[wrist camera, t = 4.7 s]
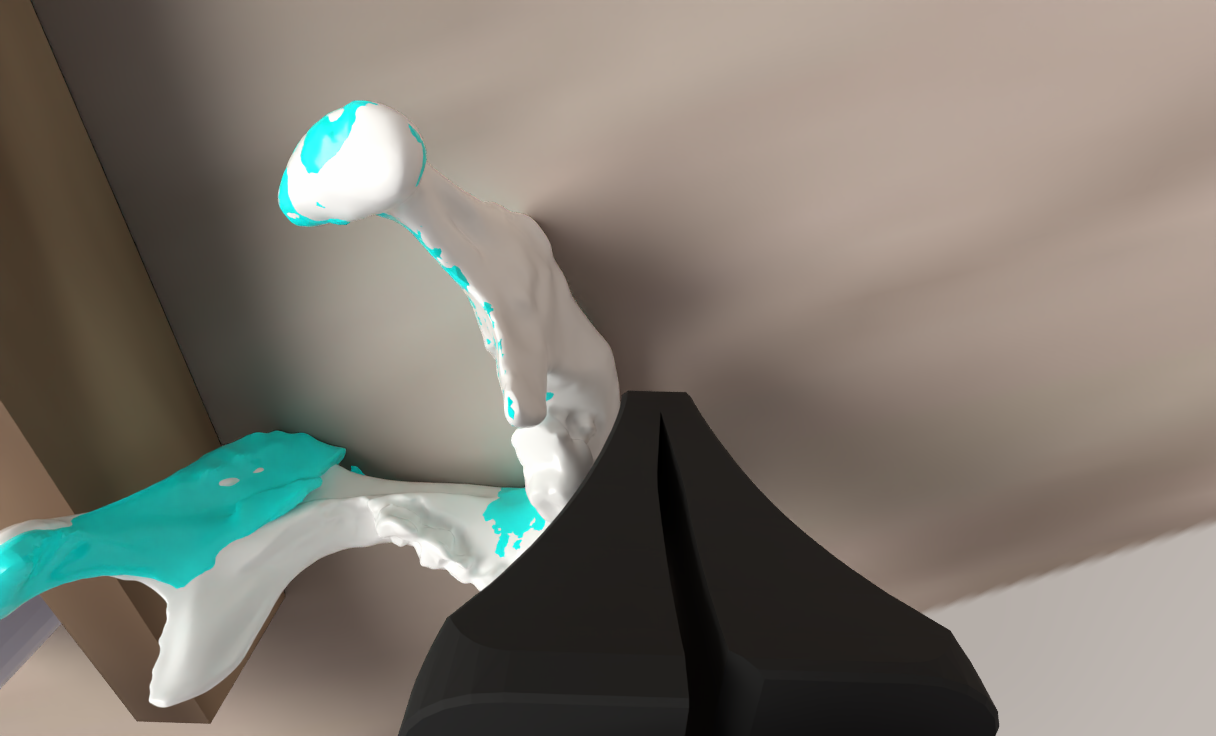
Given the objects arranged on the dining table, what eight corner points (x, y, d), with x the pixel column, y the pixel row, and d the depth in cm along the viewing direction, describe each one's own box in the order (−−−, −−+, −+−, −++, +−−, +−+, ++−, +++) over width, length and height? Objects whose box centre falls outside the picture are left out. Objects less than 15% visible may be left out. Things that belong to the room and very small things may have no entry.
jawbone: (481, 611, 18) (199, 952, 10) (330, 415, 18) (-81, 584, 10) (805, 405, 13) (807, 719, 5) (598, 143, 14) (252, 11, 5)
